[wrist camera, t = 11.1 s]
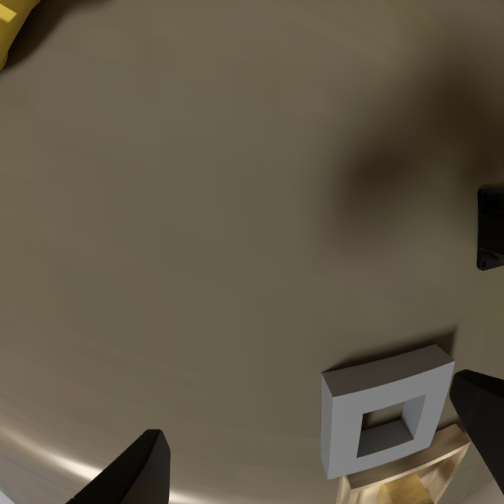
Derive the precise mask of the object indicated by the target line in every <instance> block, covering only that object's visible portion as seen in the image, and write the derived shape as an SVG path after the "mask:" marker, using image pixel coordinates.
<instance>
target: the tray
mask: <svg viewBox="0 0 504 504" xmlns="http://www.w3.org/2000/svg"><path fill="white" fill-rule="evenodd" d="M470 442H471V441H470V440H469V439H468V438H467V437H466V435H465V434H464V433H463V432H462V431H461V429H460V428H459V427H458V426H457V425H456V424H453V425H451V426H449V427H447V428H444V429H442V430H440V431H438V432H435V433H434V436H433V439H432V442H431V444H430V447H428V448H425V449H423V450H420V451H418V452H415V453H413V454H410V455H408V456H405V457H402V458H400V459H397V460H394V461H391V462H388V463H385V464H382V465H379V466H376V467H373V468H370V469H366V470H363V471H360V472H356V473H352V474H349V475H345V476H341V477H340V480H339V487H338V493H337V499H336V504H379V502H378V500H377V494H378V492H379V489H380V486H381V484H384V483H387V482H390V481H392V480H395V479H398V478H401V477H403V476H406V475H408V474H411V473H413V472H416V473H417V475H418V477H419V478H420V480H421V482H422V483H423V485H424V487H425V488H426V490H427V492H428V494H429V495H430V497H431V499H432V500H433V502H434V504H437V502H438V500H439V499H440V497H441V496H442V494H443V492H444V491H445V489H446V487H447V486H448V484H449V482H450V481H451V479H452V477H453V475H454V474H455V472H456V470H457V468H458V466H459V464H460V462H461V461H462V459H463V457H464V455H465V453H466V451H467V449H468V446H469V444H470Z"/></svg>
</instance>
